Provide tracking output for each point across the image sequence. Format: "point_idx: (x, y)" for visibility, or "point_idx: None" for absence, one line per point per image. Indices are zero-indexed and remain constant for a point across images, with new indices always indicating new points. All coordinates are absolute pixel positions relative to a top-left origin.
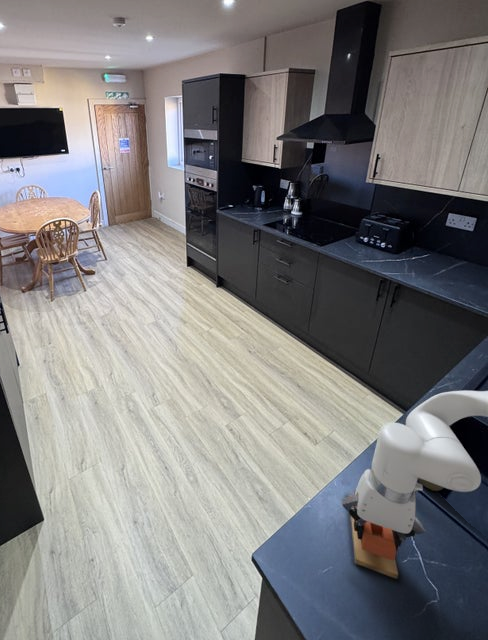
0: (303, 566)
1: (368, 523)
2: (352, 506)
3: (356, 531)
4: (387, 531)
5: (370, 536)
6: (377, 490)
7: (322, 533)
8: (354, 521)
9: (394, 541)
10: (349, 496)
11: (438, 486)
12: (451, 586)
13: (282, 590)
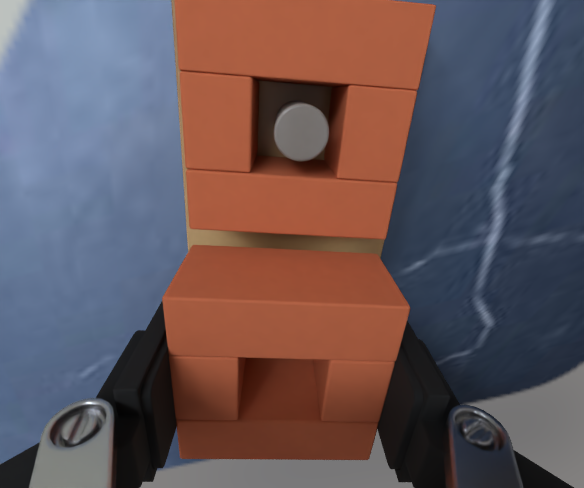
0: (8, 380)
1: (222, 367)
2: None
3: (206, 238)
4: (355, 382)
5: (223, 433)
6: None
7: (53, 257)
8: (125, 354)
9: (380, 426)
10: (173, 2)
11: None
12: (557, 302)
13: None
